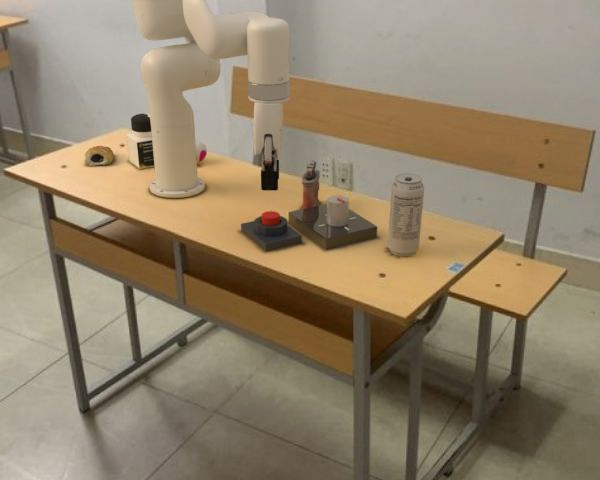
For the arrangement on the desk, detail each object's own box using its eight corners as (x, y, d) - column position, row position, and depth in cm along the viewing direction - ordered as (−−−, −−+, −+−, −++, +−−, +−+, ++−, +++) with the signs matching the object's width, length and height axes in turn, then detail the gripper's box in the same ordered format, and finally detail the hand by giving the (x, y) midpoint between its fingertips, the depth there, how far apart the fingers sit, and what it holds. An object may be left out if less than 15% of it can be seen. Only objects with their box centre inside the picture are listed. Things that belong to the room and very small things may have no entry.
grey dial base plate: (288, 223, 162) (288, 211, 161) (337, 212, 167) (337, 200, 166) (325, 250, 151) (326, 237, 149) (376, 237, 156) (377, 225, 155)
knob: (322, 220, 157) (322, 196, 154) (340, 216, 159) (341, 192, 156) (333, 228, 154) (334, 203, 151) (352, 224, 155) (353, 199, 153)
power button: (258, 221, 155) (258, 213, 154) (274, 217, 156) (274, 209, 156) (266, 227, 152) (266, 219, 151) (283, 224, 154) (283, 216, 153)
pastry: (91, 154, 199) (89, 139, 197) (117, 154, 200) (116, 139, 198) (84, 166, 191) (82, 151, 189) (112, 166, 192) (110, 151, 190)
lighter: (314, 216, 165) (315, 171, 160) (299, 214, 166) (299, 170, 161) (321, 202, 172) (322, 158, 167) (306, 200, 173) (306, 157, 168)
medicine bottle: (139, 169, 190) (134, 121, 184) (128, 161, 195) (123, 114, 189) (166, 164, 193) (162, 117, 187) (155, 156, 198) (151, 109, 192)
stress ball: (184, 180, 193) (189, 163, 187) (170, 155, 195) (175, 138, 189) (211, 173, 196) (216, 156, 191) (197, 148, 199) (202, 131, 193)
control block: (241, 231, 158) (240, 215, 156) (275, 223, 162) (275, 208, 160) (265, 251, 150) (265, 235, 148) (301, 243, 153) (301, 227, 152)
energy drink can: (419, 246, 153) (426, 173, 145) (417, 259, 147) (423, 185, 140) (389, 242, 154) (394, 171, 146) (385, 256, 149) (390, 182, 141)
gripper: (251, 78, 149) (253, 169, 158) (245, 102, 134) (248, 201, 143) (290, 79, 149) (290, 169, 158) (288, 103, 134) (288, 201, 143)
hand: (270, 183), depth 150 cm, fingers open, 4 cm apart
